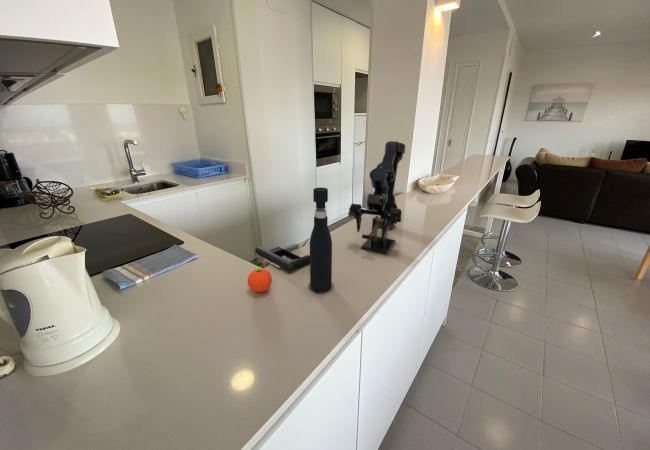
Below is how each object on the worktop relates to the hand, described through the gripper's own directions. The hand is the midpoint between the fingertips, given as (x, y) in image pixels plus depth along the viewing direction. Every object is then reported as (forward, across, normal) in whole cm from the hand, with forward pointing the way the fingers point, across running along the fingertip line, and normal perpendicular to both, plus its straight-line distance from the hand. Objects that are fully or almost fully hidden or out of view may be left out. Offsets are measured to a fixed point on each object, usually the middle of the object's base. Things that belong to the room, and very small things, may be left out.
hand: (370, 233), depth 99 cm
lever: (-3, +1, +4) cm, 5 cm away
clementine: (+30, -25, -16) cm, 42 cm away
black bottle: (+24, -9, -11) cm, 28 cm away
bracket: (-1, +2, +14) cm, 14 cm away
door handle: (+15, -28, -2) cm, 32 cm away
